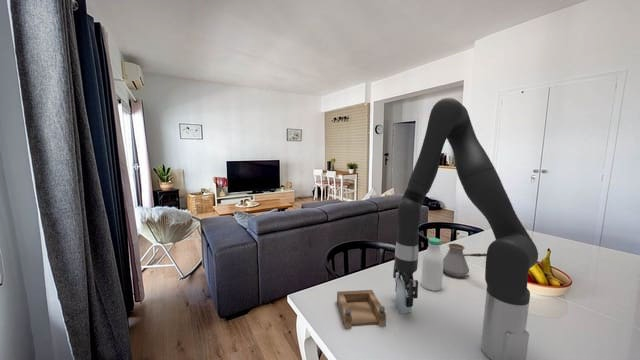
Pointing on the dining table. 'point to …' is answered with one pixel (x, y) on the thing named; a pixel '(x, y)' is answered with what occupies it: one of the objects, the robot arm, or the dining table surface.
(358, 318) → the holder
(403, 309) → the cylinder
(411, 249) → the robot arm
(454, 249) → the coffee pot
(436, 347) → the dining table surface
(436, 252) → the milk bottle
